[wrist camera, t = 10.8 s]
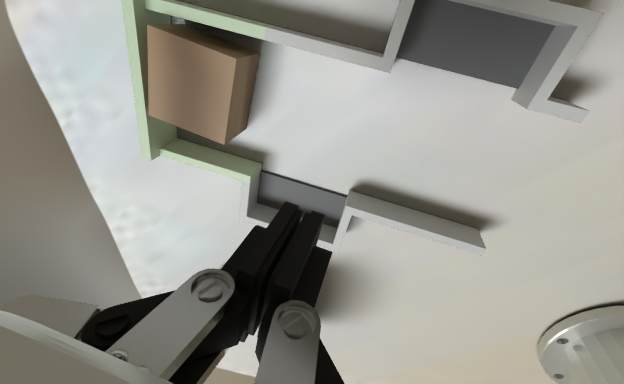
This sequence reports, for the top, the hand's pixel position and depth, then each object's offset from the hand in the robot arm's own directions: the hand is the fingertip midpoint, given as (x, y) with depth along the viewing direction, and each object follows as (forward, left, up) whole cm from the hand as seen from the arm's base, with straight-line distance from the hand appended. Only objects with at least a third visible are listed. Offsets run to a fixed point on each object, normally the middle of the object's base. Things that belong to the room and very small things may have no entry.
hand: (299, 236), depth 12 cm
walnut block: (+11, -1, -13) cm, 17 cm away
